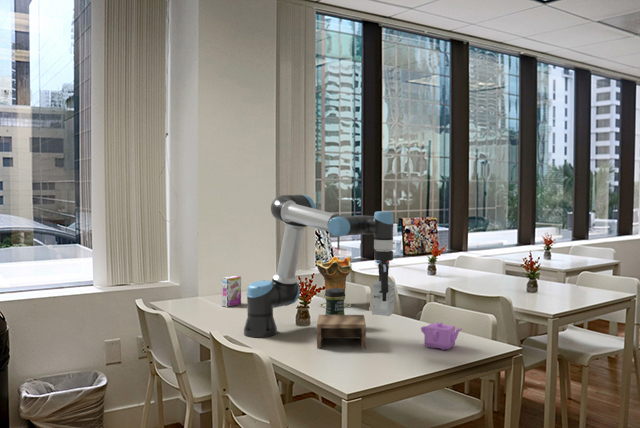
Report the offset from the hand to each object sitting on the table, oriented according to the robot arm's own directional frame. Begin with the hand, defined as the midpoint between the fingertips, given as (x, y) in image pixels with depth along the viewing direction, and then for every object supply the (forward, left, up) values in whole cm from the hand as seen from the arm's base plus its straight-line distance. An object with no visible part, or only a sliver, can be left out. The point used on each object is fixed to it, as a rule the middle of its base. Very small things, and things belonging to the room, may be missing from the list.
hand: (383, 306), depth 218 cm
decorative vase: (-20, +92, -19) cm, 96 cm away
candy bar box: (-80, +92, -19) cm, 123 cm away
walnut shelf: (-17, +14, -18) cm, 28 cm away
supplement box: (0, 0, -3) cm, 3 cm away
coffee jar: (-20, +42, -19) cm, 50 cm away
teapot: (+24, +7, -19) cm, 31 cm away
